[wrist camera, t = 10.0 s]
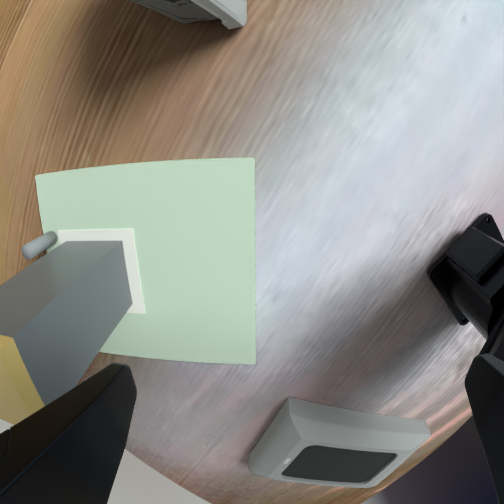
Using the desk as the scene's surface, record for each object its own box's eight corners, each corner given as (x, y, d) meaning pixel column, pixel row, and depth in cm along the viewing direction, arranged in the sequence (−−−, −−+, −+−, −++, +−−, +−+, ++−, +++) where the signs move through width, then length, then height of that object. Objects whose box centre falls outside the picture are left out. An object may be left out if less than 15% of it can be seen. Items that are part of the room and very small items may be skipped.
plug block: (122, 240, 19) (-2, 352, 8) (132, 303, 21) (44, 436, 10) (66, 240, 19) (-60, 332, 8) (79, 299, 21) (-19, 409, 10)
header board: (254, 157, 18) (252, 162, 14) (256, 359, 23) (254, 393, 19) (40, 174, 19) (7, 183, 15) (76, 343, 23) (56, 369, 20)
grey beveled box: (378, 492, 25) (247, 480, 24) (372, 468, 29) (249, 451, 28) (435, 443, 22) (290, 426, 21) (423, 417, 26) (288, 393, 24)
